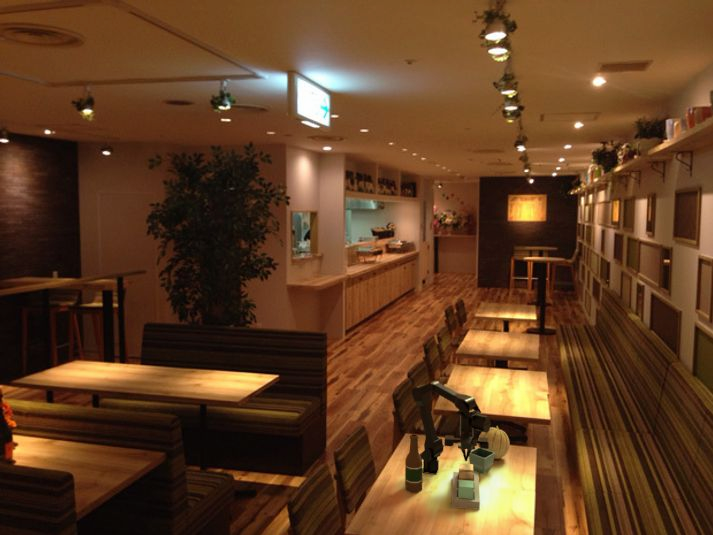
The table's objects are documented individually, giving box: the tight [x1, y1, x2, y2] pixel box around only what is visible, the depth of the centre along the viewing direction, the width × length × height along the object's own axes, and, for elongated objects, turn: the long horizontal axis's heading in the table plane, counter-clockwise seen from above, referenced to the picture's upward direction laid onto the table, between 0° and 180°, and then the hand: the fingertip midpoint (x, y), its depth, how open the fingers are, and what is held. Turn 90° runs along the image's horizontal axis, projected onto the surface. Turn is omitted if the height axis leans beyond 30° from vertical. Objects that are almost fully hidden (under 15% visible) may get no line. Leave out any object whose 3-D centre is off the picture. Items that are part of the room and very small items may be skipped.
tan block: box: [458, 470, 474, 482], centre depth 266 cm, size 6×6×5 cm
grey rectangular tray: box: [451, 471, 481, 510], centre depth 267 cm, size 11×26×3 cm, turn 170°
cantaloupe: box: [477, 425, 511, 460], centre depth 301 cm, size 15×15×15 cm
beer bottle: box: [404, 433, 423, 494], centre depth 269 cm, size 8×8×24 cm
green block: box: [457, 480, 474, 500], centre depth 258 cm, size 6×6×5 cm
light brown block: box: [458, 463, 474, 473], centre depth 274 cm, size 6×6×5 cm
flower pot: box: [468, 447, 495, 475], centre depth 287 cm, size 9×9×9 cm
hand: (466, 460), depth 273 cm, fingers closed
